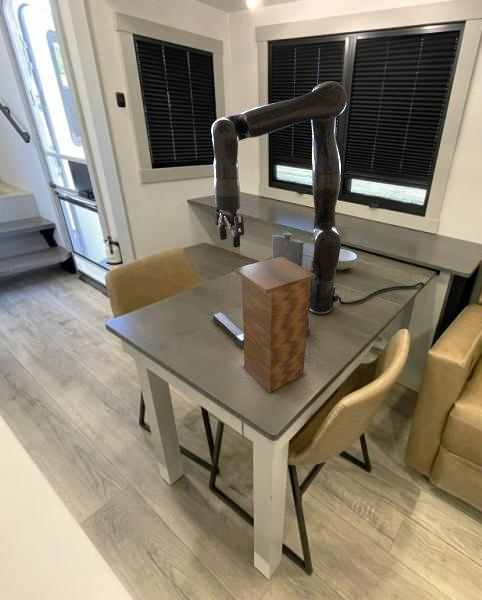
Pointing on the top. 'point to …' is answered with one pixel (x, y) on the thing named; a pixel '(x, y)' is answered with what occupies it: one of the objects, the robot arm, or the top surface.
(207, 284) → the top surface
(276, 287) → the oak stand
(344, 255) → the cereal bowl
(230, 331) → the handle stick
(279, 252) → the hip flask
